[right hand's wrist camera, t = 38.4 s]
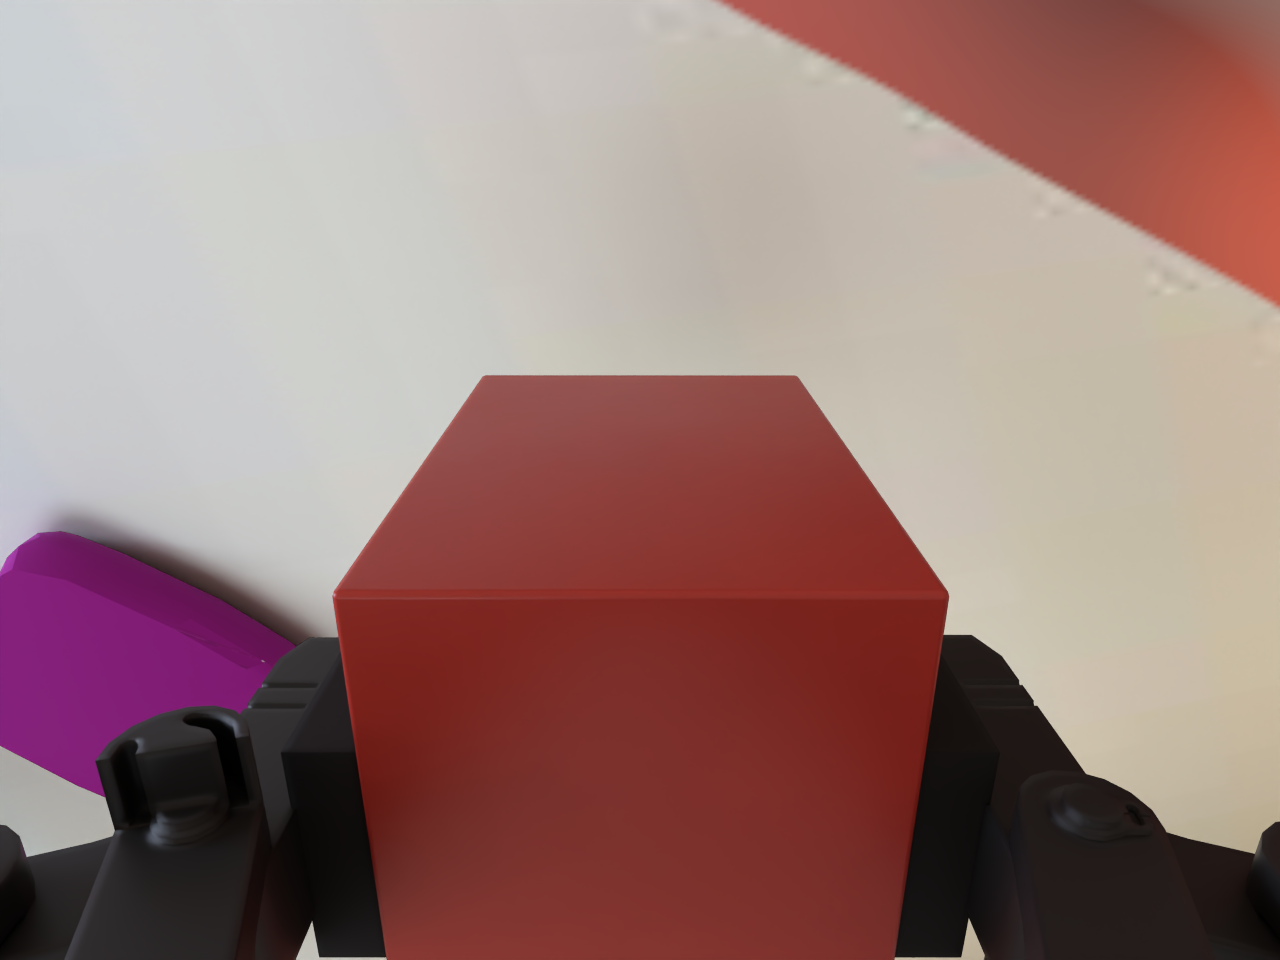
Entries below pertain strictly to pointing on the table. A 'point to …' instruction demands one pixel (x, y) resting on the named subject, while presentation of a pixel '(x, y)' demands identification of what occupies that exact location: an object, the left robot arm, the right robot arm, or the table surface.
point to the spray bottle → (111, 651)
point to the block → (640, 680)
